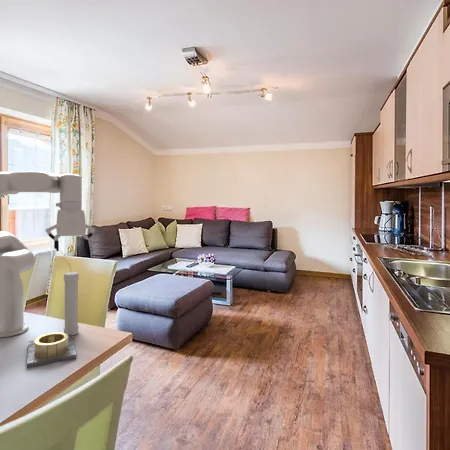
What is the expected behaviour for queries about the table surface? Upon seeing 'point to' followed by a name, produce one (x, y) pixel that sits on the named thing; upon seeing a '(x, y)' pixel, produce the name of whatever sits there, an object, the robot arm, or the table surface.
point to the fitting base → (50, 349)
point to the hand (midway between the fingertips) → (71, 250)
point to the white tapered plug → (71, 302)
